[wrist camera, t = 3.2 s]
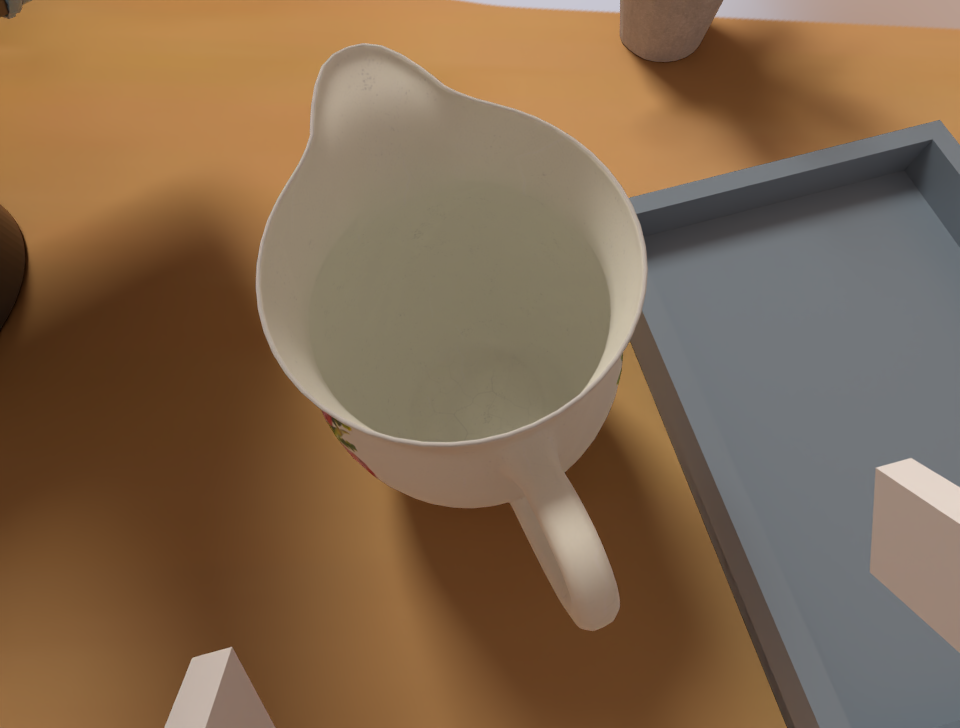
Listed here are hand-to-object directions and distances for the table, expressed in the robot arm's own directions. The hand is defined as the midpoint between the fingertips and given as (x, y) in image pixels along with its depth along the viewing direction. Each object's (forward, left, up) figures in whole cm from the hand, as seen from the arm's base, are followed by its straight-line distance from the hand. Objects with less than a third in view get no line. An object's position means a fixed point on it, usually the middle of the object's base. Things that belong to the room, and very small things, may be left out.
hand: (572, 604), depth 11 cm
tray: (-4, +17, -13) cm, 22 cm away
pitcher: (-8, 0, -13) cm, 16 cm away
